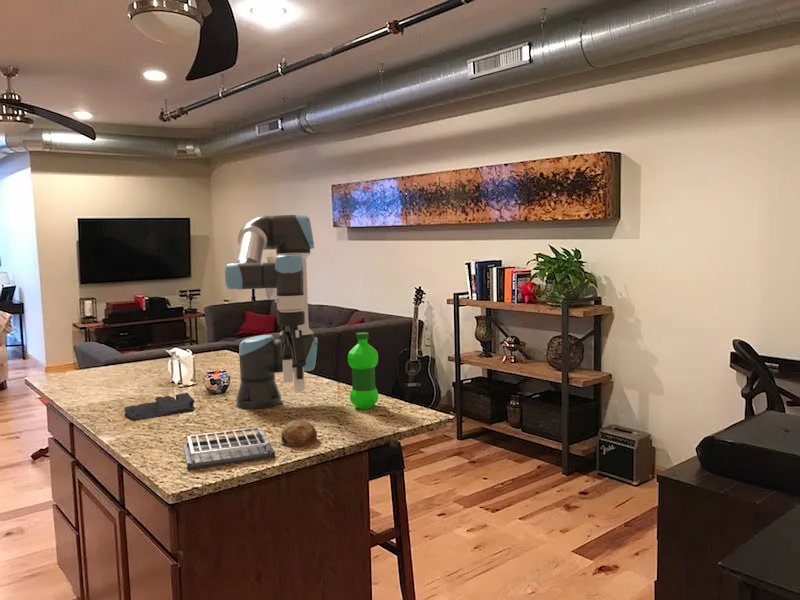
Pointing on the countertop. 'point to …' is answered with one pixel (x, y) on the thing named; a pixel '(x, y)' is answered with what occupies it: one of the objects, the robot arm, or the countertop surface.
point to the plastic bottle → (363, 373)
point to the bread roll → (298, 434)
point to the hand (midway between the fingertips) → (293, 386)
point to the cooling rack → (227, 449)
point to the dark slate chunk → (161, 407)
